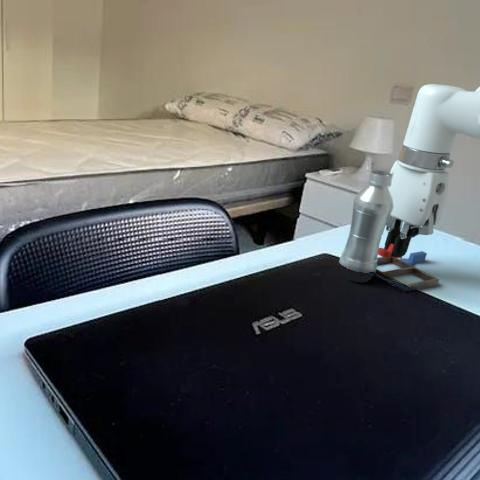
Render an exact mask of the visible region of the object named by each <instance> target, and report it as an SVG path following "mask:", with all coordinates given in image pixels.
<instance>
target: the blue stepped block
mask: <svg viewBox="0 0 480 480" xmlns="http://www.w3.org/2000/svg"><path fill="white" fill-rule="evenodd" d="M427 255H428V254H427V252H425V251H423V250H421V251H416V252H410V253H409V256H408V258H403V257H402V258H399V259H400V260H402V261H404V262H406V263H408V264H410V265H412V266H414V265H413V264H417V263H423V262H425V261H426V258H427Z"/></svg>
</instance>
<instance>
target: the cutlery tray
mask: <svg viewBox="0 0 480 480" xmlns="http://www.w3.org/2000/svg"><path fill="white" fill-rule="evenodd" d="M400 259H401V258H393V257H390V258H385V257H382V256H379V257H377V266H378V265H383V264H389V263H391V264H393V265H395V266H396V267H399V268H397V269H391V270H386V271H381V270H380V269H378V268H376V272H375V273H377V274H379V275H381V276H384V277H386V278H389V279H391V280H395V281H397V282H400V283H402V284H404V285H407V286H410V287H411V288H413V289H415V290H414V291H419V290H423V289H429V288H433V287H438V285H439V282H440V279H439V278H437V277H435V276H433V275H431V274H429V273H427V272H426V271H424V270H421V269H419V268H418V267H415V266H414V265H410V264H408V263H406V262H404V261H402V260H400ZM406 275H414V276H416V277H418V278H420V279H421V281H416V282H411V283H407V284H405V283H404V282H402V281H400V280H398V279H396V277H397V278H398V277H401V276H402V277H403V276H406Z"/></svg>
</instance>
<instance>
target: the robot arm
mask: <svg viewBox="0 0 480 480" xmlns="http://www.w3.org/2000/svg"><path fill="white" fill-rule="evenodd" d="M457 134H460V135H464V136H466V137H470V138H474V139H477V140H480V86H479V87H478V88H476V90H474V91H469V90H466V89H465V88H462V87H459V86H452V85H446V84H438V83H428V84H425V85H422V86H421V87H420V88H419V90H418V92H417V95H416V98H415V102H414V105H413V109H412V113H411V115H410V119H409V122H408V126H407V129H406V132H405V136H404V139H403V142H402V143H403V144H402V147H401V150H400V153H399V157H398V160H395V161H394V163H393V165H392V167H391V169H390V171H389V173H391V174H393V178H392V181H391V183H392V184H391V186H390V187H389V191H390V194H391V196H392V199H393V205H394V207H393V210H392V213H391V215H390V217H389V219H388V222H387V224H386V226H385V231H386V233H387V235H386V239H385V241H384V246H383V248H384V249H387V250H388V248H389V245H390V243H392V244H394V246H393V249H392V254H391V256H392V257H400V256H402V257H405V256H406V254H407V252H408V249H409V246H410V243H411V241H412V238H415V237H417V236H419V235H420V236H430V235H433V234H434V226H436V225H437V224H439V222H440V220H441V217H442V213H443V210H444V206H445V202H446V199H447V193H448V187H449V171H446V169H447V168H448V169H451V168H452V167H453V166H454V160H453V159H450V157H451V151H452V149H453V147H454V143H455V140H456V137H457Z"/></svg>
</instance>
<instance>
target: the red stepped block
mask: <svg viewBox="0 0 480 480" xmlns="http://www.w3.org/2000/svg"><path fill="white" fill-rule="evenodd" d="M393 246H394V244H392V243H390V245H389V248H388V250H387V249H384V247H379V250H378V255H377V256H379V257H385V258H390V257H392V256H391V254H392V249H393ZM393 258H398V259H401V258H403V256H400V257H393Z"/></svg>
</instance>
